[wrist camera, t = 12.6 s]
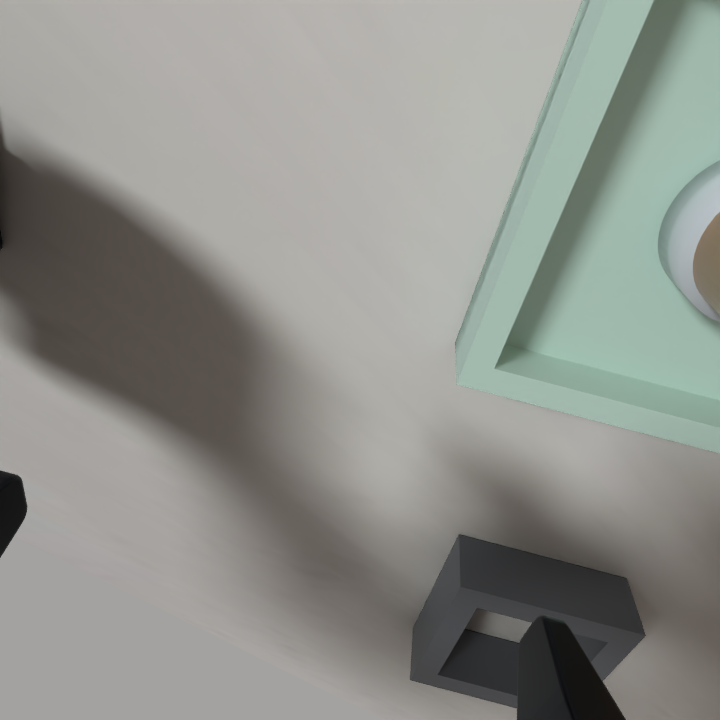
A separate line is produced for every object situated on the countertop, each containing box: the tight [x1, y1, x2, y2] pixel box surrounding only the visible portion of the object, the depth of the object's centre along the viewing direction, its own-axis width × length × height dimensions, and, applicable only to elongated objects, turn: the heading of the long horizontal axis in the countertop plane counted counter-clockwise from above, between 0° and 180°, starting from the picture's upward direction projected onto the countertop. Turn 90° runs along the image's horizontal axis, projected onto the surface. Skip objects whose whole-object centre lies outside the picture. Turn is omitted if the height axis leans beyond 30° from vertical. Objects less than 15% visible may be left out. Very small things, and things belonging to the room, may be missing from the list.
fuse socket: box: [410, 535, 646, 708], centre depth 28 cm, size 9×9×3 cm
